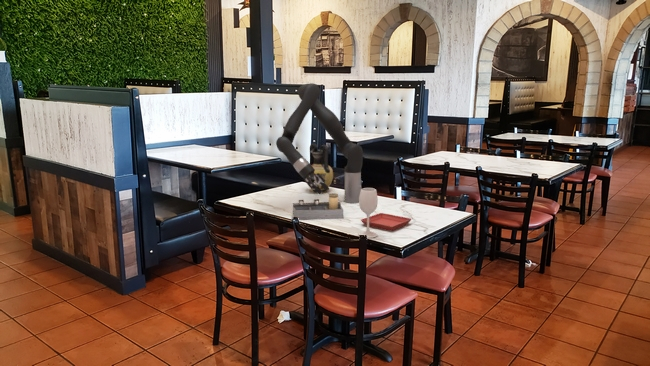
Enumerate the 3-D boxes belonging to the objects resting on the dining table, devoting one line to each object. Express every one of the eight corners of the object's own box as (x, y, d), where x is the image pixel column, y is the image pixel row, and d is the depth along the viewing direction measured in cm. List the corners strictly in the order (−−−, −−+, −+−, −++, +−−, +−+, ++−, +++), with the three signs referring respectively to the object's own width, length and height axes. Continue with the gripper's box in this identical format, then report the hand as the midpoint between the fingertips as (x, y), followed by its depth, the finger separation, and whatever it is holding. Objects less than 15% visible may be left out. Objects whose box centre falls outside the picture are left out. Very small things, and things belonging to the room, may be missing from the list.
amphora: (300, 192, 311) (299, 144, 305) (316, 187, 325) (316, 141, 318) (322, 196, 301) (322, 146, 295) (338, 191, 314) (339, 143, 308)
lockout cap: (337, 212, 258) (337, 193, 256) (338, 214, 254) (338, 195, 252) (328, 212, 258) (328, 193, 256) (329, 214, 253) (329, 195, 251)
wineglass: (354, 235, 225) (354, 189, 220) (366, 231, 231) (367, 186, 226) (368, 239, 219) (369, 192, 214) (381, 235, 224) (382, 189, 220)
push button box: (339, 211, 265) (339, 198, 263) (343, 218, 252) (343, 204, 251) (292, 213, 262) (292, 199, 260) (294, 220, 249) (293, 205, 248)
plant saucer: (380, 218, 253) (380, 212, 252) (412, 224, 242) (412, 218, 241) (359, 226, 239) (359, 219, 239) (391, 233, 228) (392, 226, 227)
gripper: (302, 165, 250) (323, 189, 248) (314, 161, 262) (334, 184, 260) (293, 175, 253) (314, 199, 251) (305, 170, 266) (325, 193, 263)
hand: (324, 191), depth 255 cm, fingers open, 8 cm apart
